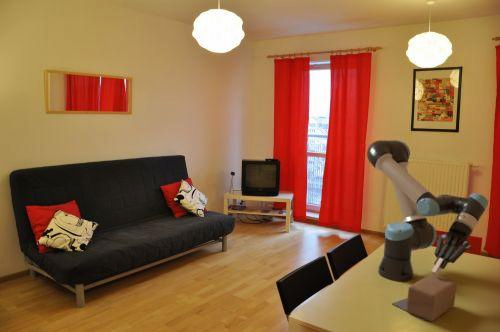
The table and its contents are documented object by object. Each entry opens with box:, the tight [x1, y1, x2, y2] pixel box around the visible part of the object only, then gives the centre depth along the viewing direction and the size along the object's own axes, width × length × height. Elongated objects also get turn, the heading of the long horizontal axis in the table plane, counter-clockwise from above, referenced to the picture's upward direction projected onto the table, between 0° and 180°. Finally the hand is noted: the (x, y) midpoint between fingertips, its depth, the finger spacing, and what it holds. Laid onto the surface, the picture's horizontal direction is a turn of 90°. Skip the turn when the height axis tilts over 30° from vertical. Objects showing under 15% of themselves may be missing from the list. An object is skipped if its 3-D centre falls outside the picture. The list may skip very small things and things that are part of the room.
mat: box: [391, 297, 454, 322], centre depth 154 cm, size 18×14×1 cm
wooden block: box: [407, 273, 457, 322], centre depth 151 cm, size 10×10×20 cm
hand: (434, 273), depth 156 cm, fingers closed
